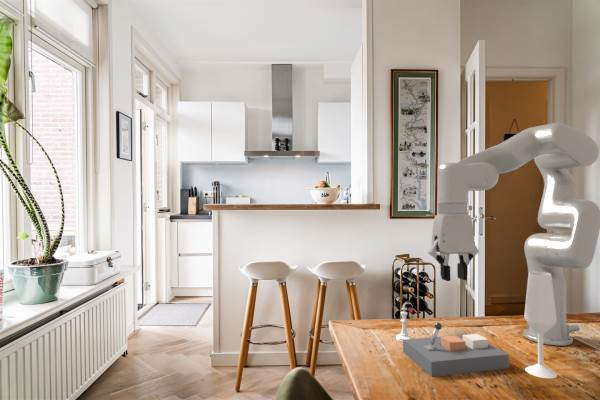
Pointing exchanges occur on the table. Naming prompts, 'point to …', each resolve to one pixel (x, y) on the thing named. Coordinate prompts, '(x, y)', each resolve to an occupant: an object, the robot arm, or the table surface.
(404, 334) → the chess piece
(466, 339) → the button white
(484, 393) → the table surface
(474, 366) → the panel
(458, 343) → the button terracotta
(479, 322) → the table surface
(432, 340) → the toggle lever
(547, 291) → the champagne flute
